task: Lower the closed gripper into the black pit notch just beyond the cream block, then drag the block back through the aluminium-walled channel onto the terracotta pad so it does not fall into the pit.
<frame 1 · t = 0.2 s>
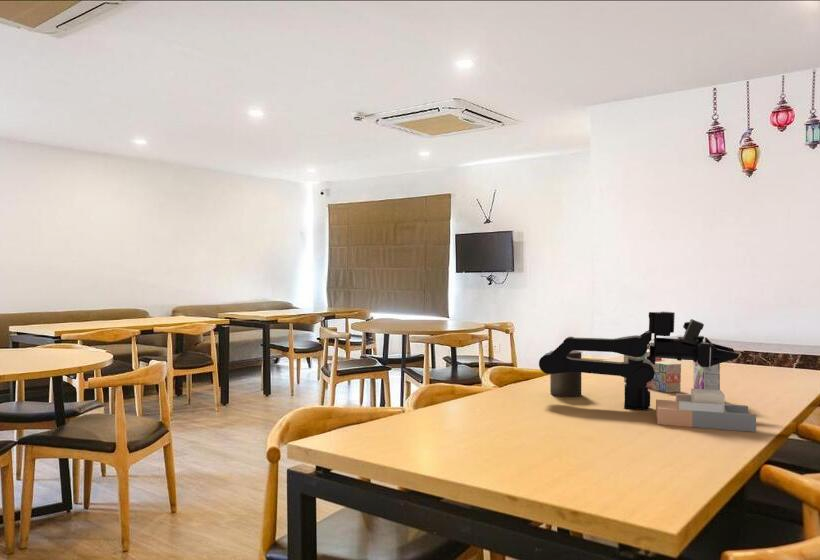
hand: (735, 353, 163), 17 cm above the table, tool horizontal, fingers open, 9 cm apart
grey piece: (702, 422, 154), on the table
cream block: (707, 407, 154), point 4 cm above the table, touching grey piece
pillar candle: (565, 394, 191), on the table
channel walls: (698, 402, 155), on the grey piece, point 4 cm above the table
candy bar box: (705, 401, 182), on the table
stack of blocks: (651, 387, 205), on the table
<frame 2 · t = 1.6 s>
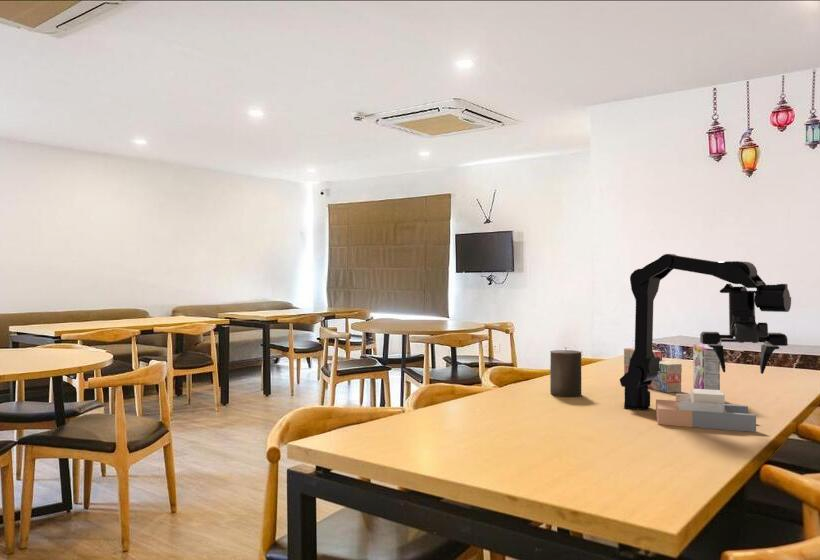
hand: (742, 372, 151), 13 cm above the table, tool pointing down, fingers open, 8 cm apart
nothing on the table moved.
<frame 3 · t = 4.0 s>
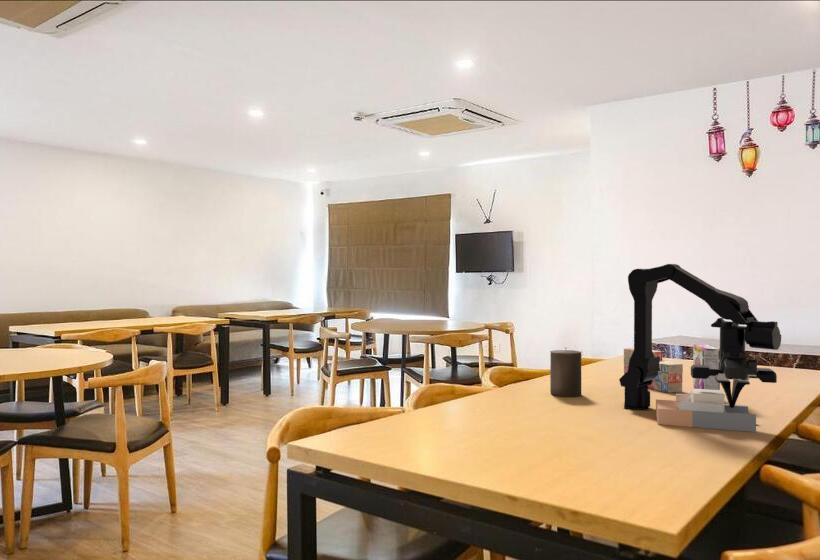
hand: (731, 407, 152), 4 cm above the table, tool pointing down, fingers closed
cream block: (707, 407, 154), point 4 cm above the table, touching gripper
everything else where it was.
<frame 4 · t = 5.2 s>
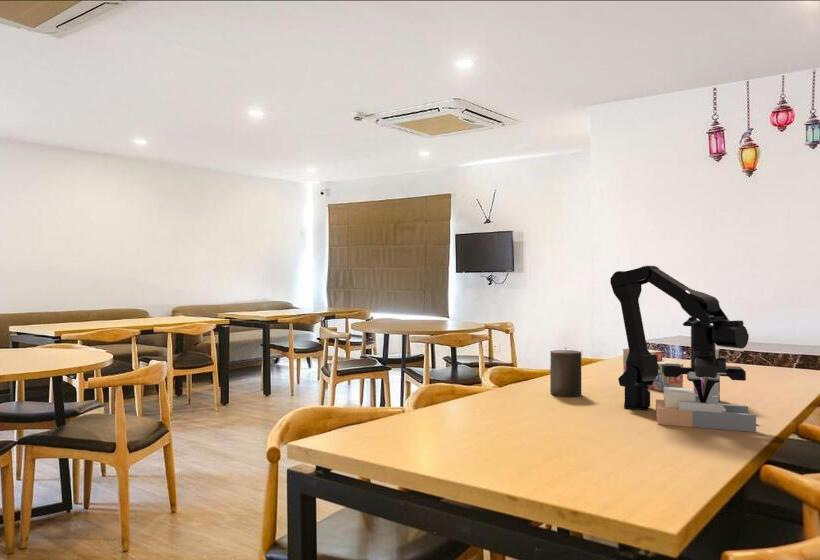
hand: (702, 405, 154), 4 cm above the table, tool pointing down, fingers closed
cream block: (679, 405, 156), point 4 cm above the table, touching gripper, grey piece
everything else where it was.
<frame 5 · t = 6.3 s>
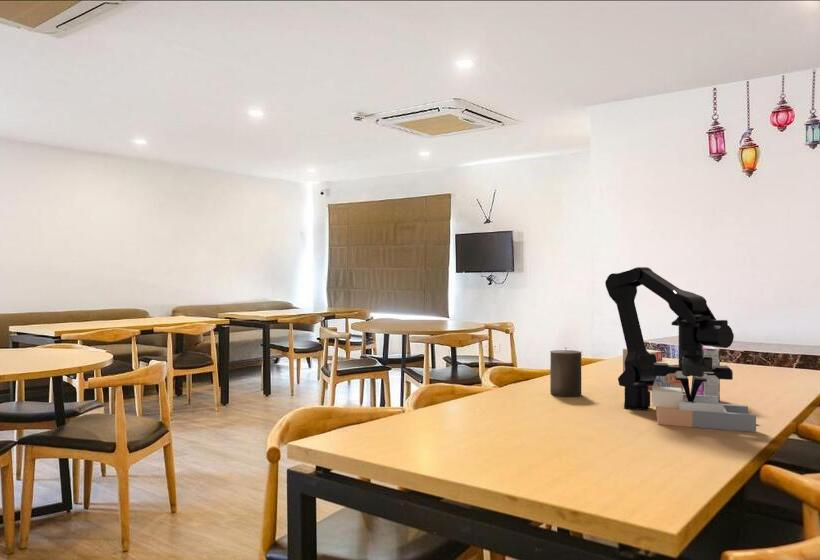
hand: (690, 404, 155), 5 cm above the table, tool pointing down, fingers closed
cream block: (667, 404, 157), point 4 cm above the table, touching gripper, grey piece
everything else where it was.
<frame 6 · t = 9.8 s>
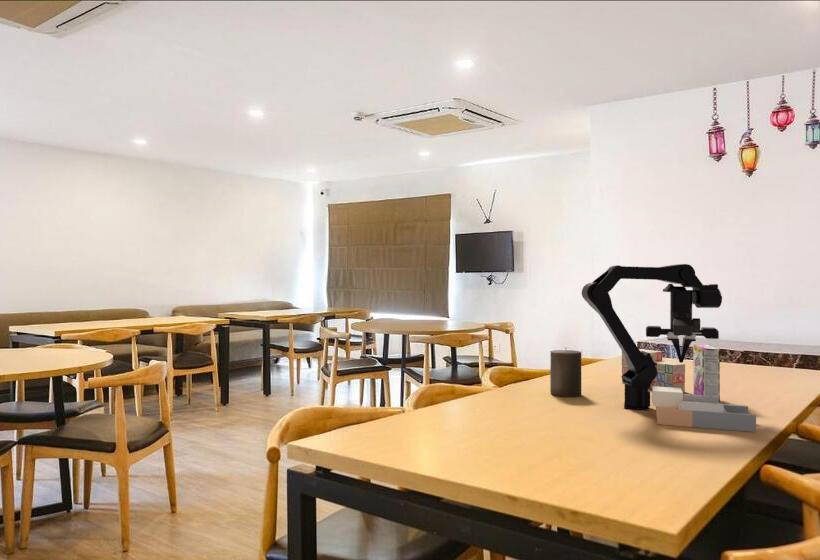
hand: (681, 362, 171), 13 cm above the table, tool pointing down, fingers closed
cream block: (667, 404, 157), point 4 cm above the table, touching grey piece
at the end: cream block inside the target area (1.3 cm from its centre), point 4.0 cm above the table; cream block tilted 0° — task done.
